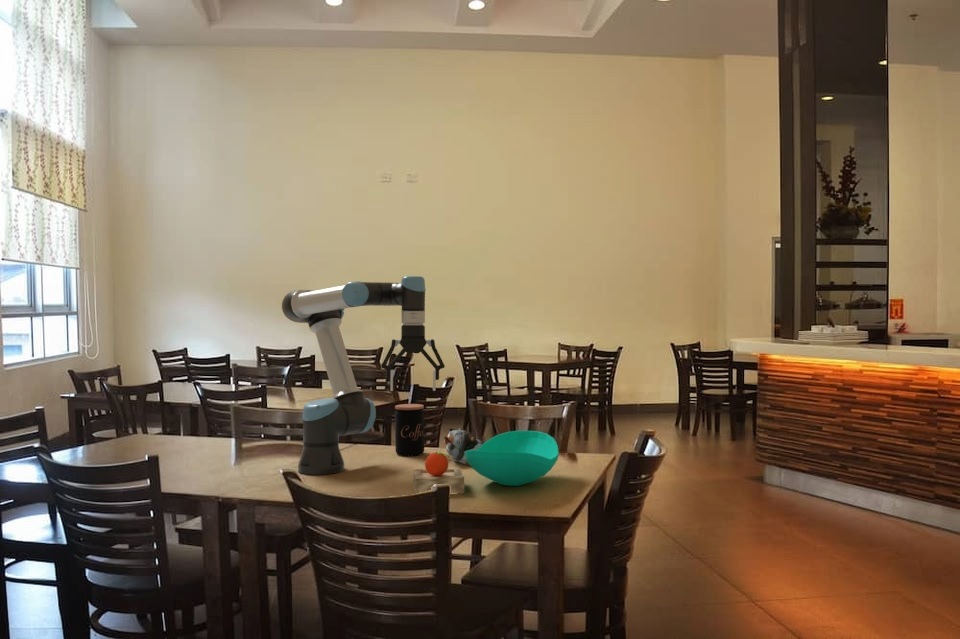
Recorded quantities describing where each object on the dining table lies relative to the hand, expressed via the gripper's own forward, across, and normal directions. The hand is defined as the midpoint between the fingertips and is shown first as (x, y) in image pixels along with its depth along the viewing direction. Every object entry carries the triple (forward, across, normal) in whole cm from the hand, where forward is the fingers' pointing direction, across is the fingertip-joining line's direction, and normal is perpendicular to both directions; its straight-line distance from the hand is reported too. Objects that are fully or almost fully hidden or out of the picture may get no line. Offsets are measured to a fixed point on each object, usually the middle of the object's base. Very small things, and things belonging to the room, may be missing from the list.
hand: (412, 390), depth 254 cm
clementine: (+23, +7, -20) cm, 32 cm away
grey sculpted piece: (+28, +19, +19) cm, 39 cm away
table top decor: (+27, +30, -16) cm, 44 cm away
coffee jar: (+28, 0, +38) cm, 48 cm away
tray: (+27, +7, -20) cm, 35 cm away
